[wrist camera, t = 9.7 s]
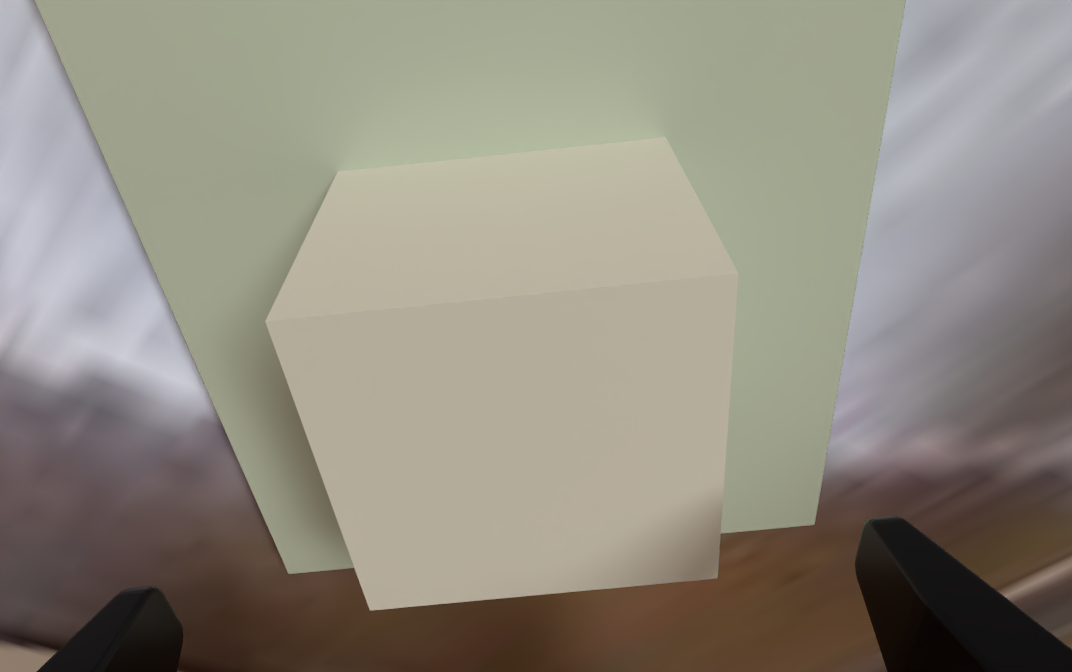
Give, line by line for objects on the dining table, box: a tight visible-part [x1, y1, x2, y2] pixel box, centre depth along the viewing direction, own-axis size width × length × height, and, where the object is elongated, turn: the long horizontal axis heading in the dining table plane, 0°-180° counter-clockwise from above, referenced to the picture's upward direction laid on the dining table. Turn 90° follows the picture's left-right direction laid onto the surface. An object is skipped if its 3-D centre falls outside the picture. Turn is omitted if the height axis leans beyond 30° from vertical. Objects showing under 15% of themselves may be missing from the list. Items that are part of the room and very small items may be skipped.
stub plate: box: [35, 0, 906, 574], centre depth 14 cm, size 14×16×4 cm
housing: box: [265, 137, 739, 610], centre depth 13 cm, size 6×6×5 cm
